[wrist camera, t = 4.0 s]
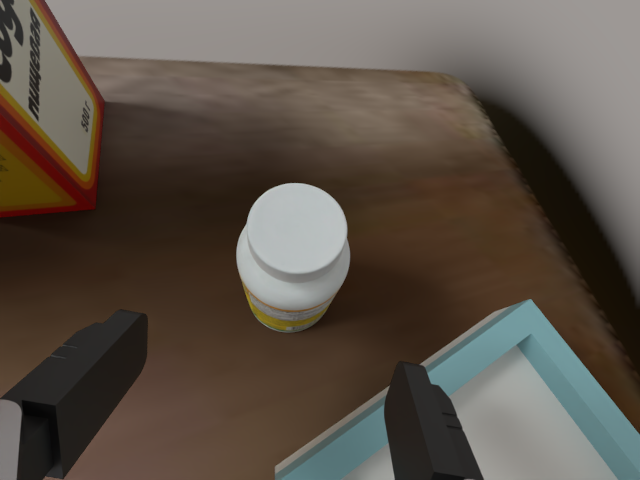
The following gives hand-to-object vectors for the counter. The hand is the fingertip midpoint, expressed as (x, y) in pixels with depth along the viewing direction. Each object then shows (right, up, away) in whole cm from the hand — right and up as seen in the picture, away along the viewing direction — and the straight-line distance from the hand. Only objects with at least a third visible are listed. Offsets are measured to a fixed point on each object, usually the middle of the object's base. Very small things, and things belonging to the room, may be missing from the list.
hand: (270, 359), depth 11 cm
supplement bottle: (0, 0, +11) cm, 11 cm away
